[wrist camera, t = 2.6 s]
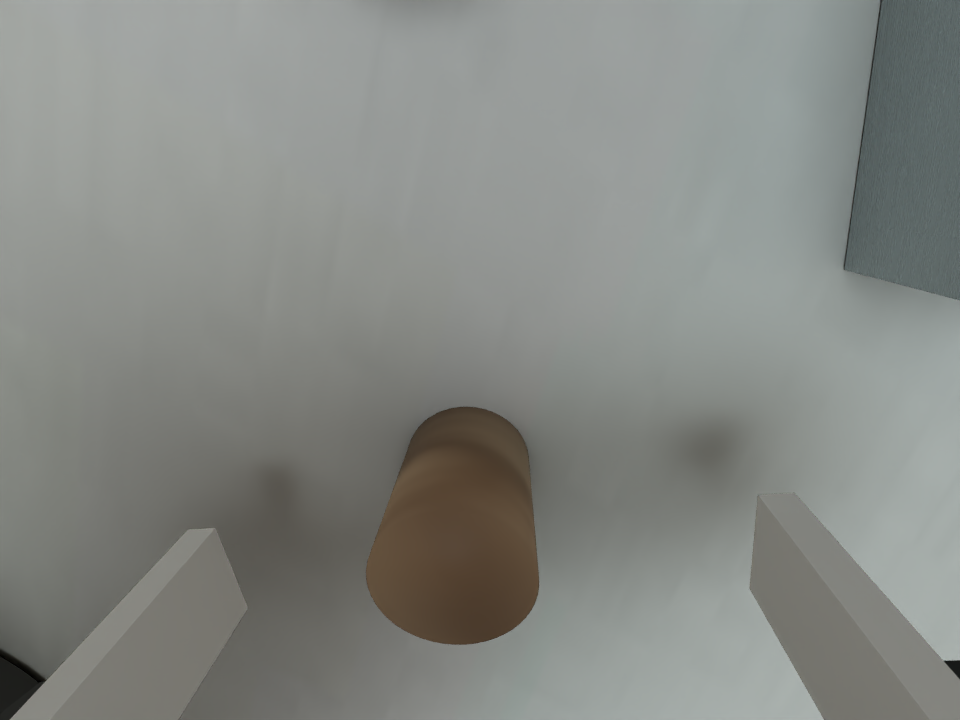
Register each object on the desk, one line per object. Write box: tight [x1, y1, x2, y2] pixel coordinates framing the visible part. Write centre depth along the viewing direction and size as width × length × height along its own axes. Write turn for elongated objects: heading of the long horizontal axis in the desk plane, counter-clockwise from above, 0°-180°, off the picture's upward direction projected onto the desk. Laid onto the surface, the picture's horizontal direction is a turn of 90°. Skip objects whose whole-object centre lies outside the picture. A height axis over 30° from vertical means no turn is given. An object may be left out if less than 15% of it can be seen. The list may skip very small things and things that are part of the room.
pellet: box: [366, 407, 539, 644], centre depth 13 cm, size 4×4×5 cm
